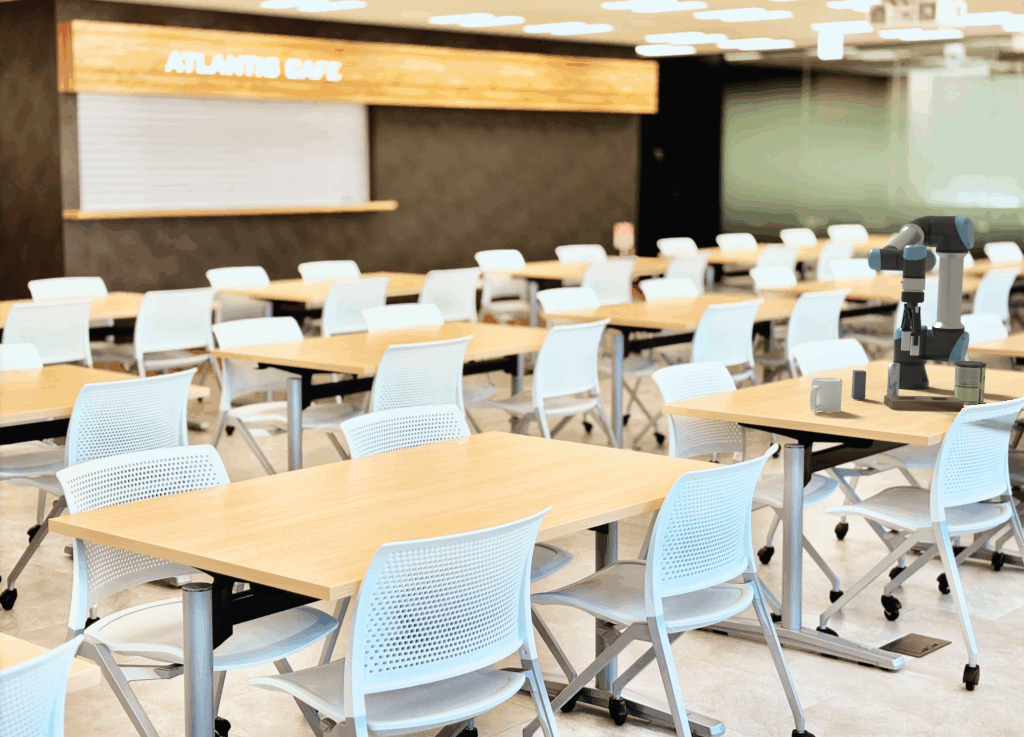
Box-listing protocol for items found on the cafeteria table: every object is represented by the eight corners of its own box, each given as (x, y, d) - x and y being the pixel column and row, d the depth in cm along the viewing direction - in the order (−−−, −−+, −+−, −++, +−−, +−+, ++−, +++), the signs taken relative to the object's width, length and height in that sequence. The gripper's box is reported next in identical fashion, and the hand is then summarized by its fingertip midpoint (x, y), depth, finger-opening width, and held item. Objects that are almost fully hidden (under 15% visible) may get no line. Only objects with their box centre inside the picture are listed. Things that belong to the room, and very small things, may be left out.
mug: (827, 415, 435) (828, 383, 434) (799, 411, 442) (800, 380, 440) (846, 410, 445) (847, 379, 444) (818, 407, 452) (820, 376, 450)
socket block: (883, 403, 461) (884, 395, 461) (954, 405, 459) (954, 396, 459) (891, 409, 449) (891, 400, 449) (963, 411, 448) (963, 402, 447)
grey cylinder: (885, 398, 473) (887, 362, 471) (896, 398, 472) (898, 362, 471) (887, 400, 469) (889, 363, 467) (899, 400, 469) (901, 364, 467)
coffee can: (950, 399, 472) (952, 360, 471) (979, 400, 472) (982, 361, 470) (956, 404, 462) (959, 364, 460) (987, 405, 461) (989, 365, 459)
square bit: (851, 397, 474) (852, 370, 472) (862, 398, 473) (864, 370, 472) (853, 399, 470) (854, 371, 468) (864, 399, 469) (866, 371, 468)
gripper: (893, 287, 462) (890, 348, 465) (910, 293, 437) (906, 357, 440) (915, 288, 461) (912, 348, 464) (933, 293, 437) (929, 357, 440)
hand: (909, 352), depth 452 cm, fingers open, 13 cm apart
